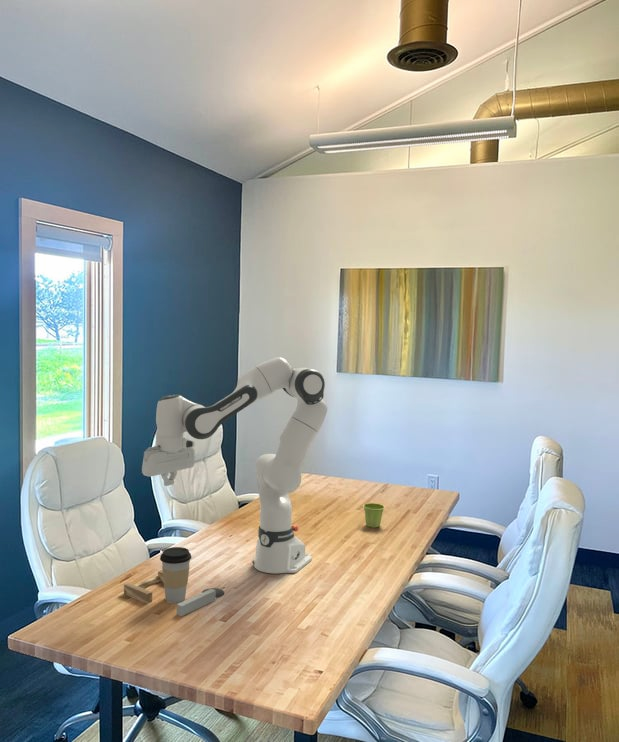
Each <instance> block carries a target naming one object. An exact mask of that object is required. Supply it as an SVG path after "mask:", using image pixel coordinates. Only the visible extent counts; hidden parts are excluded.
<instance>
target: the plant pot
mask: <svg viewBox="0 0 619 742" xmlns="http://www.w3.org/2000/svg"><path fill="white" fill-rule="evenodd" d="M362 506H363V507H362V508H363V509H364V515H365V516H364V517H365V525H366V526H367V527H369V528H380V526H381V524H382V523H381V522H382V516H383V512H384V510H385V508H386V507H385V505H383V504H381V503H375V502H367V503H364V504H363V505H362Z"/></svg>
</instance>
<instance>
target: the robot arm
mask: <svg viewBox="0 0 619 742" xmlns="http://www.w3.org/2000/svg"><path fill="white" fill-rule="evenodd" d="M325 384H326V382H325V379H324V376H323V375H322V374H321V373H320V372H319V371H318V370H316V369H314V368H308V367H292V366H291V364H290V363H289V362H288V361H287V359H285V358H283V357H280V356H277V357H273V358H270V359H268V360H266V361H263V362H261V363H259V364H257V365H255V366H253V367H252V368H250V369H249V370H247V371H246V372H244V373H242V375H240V377H238V380H237V383H236V387H235V389H234V391H233V392H232V393H230V394H229V395H227V396H225V397H224V398H223V399H220V400H219V401H217V402H216V403H215V404H213V405H210V406H204V405H203V404H199V403H196V402H193V401H191V400H189V399H187V398H185V397H184V396H182V395H181V394H176V393H175V394H169V395H164V396H161V398H160V399H159V400H158V402H157V404H156V405H157V406H156V412H155V414H156V416H155V424H156V427H157V428H156V432H155V433H156V434H155V446H149V447H147V449H146V450H145V451H143V458H142V459H143V460H142V465H141V474H143V476H146V477H151V478H152V477H156V476H159V475H160V476H161V478H162V480H163V485H164V487H165V486H166V487H168V486H172V485H173V486H174V484H175V479H176V476H177V473H178V471H182V470H187V469H191V468H193V467H194V465H195V463H196V451H195V448H194V447H195V443H196V442H195V441H194V440H193V439H188V438H185V437H184V433H186V432H187V433H188V434H189V436H191V437H192V438H194V439H196V440H206V439H209V438H210V437H212V436H213V435H214V434H215V433H216V432H217V430H218V429H219V428H220V427H221V425H222V424H223V423H225V422H226V421H227V420H228V419H230V418H231V417H234V415H236V414H238V413H239V412H241V411H242V410H245V408H247V407H248V406H251V405H252V404H254V403H257V402H259V401H260V400H263V399H265V398H267V397H269V396H270V395H272V394H274V392H276V391H278V390H281V389H282V390H283V391H284V392H285V393H286V394H287V395H289V396H290V397H293V398H296V400H297V402H296V403H297V405H296V408H295V411H294V412H293V413H292V416H291V417H290V419H289V420H288V422H287V423H286V425H285V428H284V429H283V430H282V432H281V434H280V436H279V443H278V444H279V445H278V448H277V451H276V454H275V453H264V454H262V455H260V456H259V457H258V458H257V459H256V461H255V463H254V472H255V476H256V481H257V489H258V495H259V496H258V497H259V507H260V508H259V509H260V510H259V511H260V513H259V516H260V517H259V526H258V530H257V532H258V533H257V536H258V539H257V541H256V547H255V548H256V550H255V555H254V557H253V559H252V560H253V563H254V564H253V566H254V568H255V570H257V571H259V572H262V573H266V574H287V573H288V574H296V573H298V571H300V570H301V569H302V568H304V567H305V566H306V565H308V563H310V562H311V561H312V560H313V559H312V556H311V555H309V554H308V553H306V545H305V543H304V542H302V541H301V540H300V539H299V538H298V537H297V536H295V533H294V532H298V531H299V526H298V525H294V524H293V525H292V510H293V508H292V506H293V505H292V501H291V499H290V496H289V494H292V493H294V492H295V491H297V490H298V489H299V487H300V486H301V483H302V471H303V467H304V464H305V460H306V458H307V454H308V451H309V450H310V448H311V446H312V444H313V442H314V440H315V439H316V437H317V435H318V434H319V431H320V430H321V428H322V426H323V423H324V421H325V418H326V416H327V413H328V405H327V402H325V400H324V391H325V387H326V385H325ZM168 476H169V477H168Z"/></svg>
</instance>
